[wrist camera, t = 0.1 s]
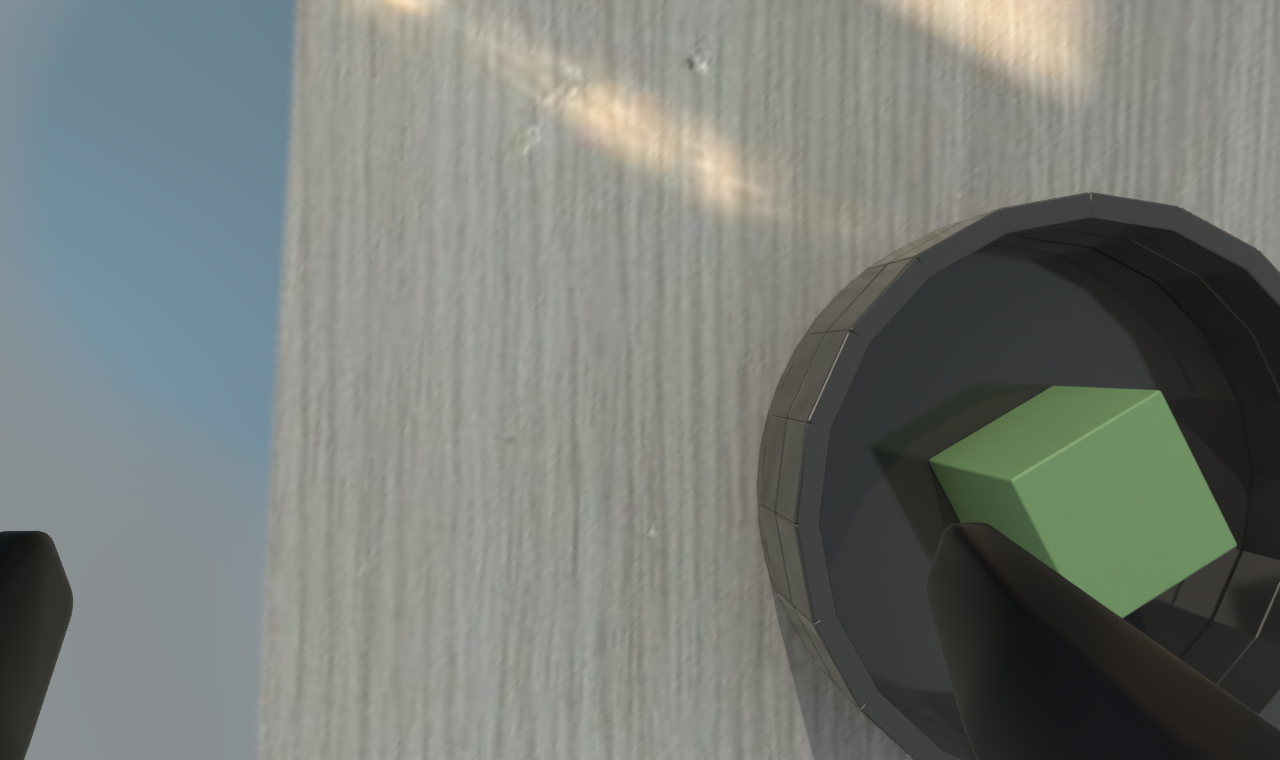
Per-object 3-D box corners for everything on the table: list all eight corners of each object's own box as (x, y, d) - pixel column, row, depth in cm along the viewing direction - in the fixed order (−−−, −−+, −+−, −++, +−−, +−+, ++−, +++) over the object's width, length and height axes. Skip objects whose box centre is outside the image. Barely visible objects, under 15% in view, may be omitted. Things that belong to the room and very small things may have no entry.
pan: (1333, 577, 25) (1463, 611, 22) (913, 848, 24) (980, 932, 20) (1113, 127, 24) (1213, 87, 20) (658, 383, 22) (683, 386, 19)
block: (1119, 515, 24) (1239, 546, 20) (995, 591, 23) (1092, 639, 19) (1053, 384, 23) (1161, 389, 19) (926, 459, 23) (1010, 480, 19)
